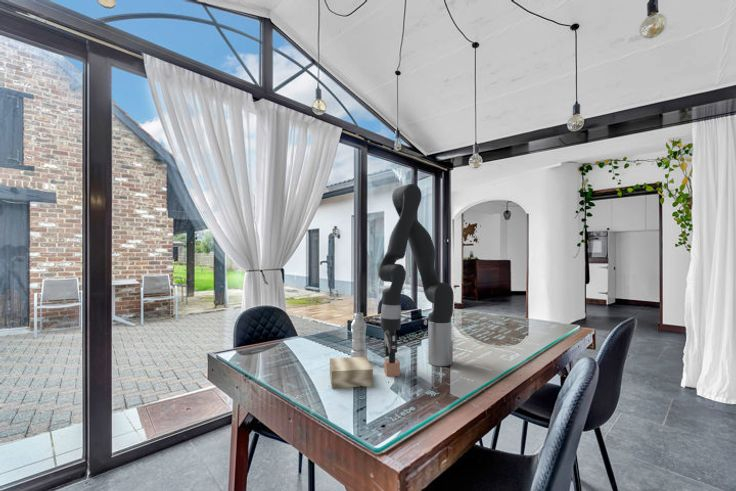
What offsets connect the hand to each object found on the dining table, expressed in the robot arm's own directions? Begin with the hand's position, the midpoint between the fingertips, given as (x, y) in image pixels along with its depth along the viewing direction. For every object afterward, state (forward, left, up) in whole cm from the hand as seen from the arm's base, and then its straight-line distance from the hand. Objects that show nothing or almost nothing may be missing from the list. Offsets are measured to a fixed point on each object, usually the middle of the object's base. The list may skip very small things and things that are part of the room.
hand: (389, 359), depth 129 cm
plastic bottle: (+10, -16, -5) cm, 20 cm away
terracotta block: (-1, 0, -5) cm, 5 cm away
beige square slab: (+15, +4, -6) cm, 17 cm away
